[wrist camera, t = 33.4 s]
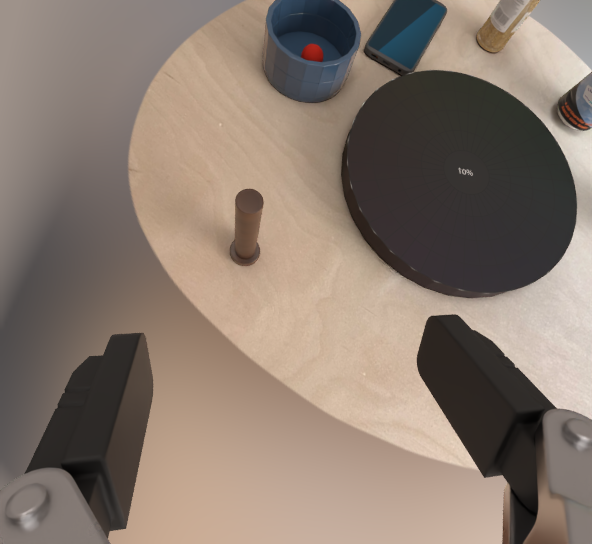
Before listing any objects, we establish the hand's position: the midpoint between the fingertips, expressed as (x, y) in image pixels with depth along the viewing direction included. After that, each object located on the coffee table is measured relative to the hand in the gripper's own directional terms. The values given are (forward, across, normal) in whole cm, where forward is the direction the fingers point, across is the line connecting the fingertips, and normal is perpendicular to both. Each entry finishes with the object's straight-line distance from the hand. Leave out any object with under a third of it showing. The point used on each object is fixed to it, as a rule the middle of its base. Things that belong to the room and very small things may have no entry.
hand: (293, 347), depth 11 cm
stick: (+29, 0, +11) cm, 31 cm away
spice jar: (+52, -38, -12) cm, 66 cm away
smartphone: (+52, -24, -12) cm, 59 cm away
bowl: (+47, -9, -7) cm, 49 cm away
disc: (+35, -27, +5) cm, 45 cm away
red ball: (+45, -10, -8) cm, 47 cm away
